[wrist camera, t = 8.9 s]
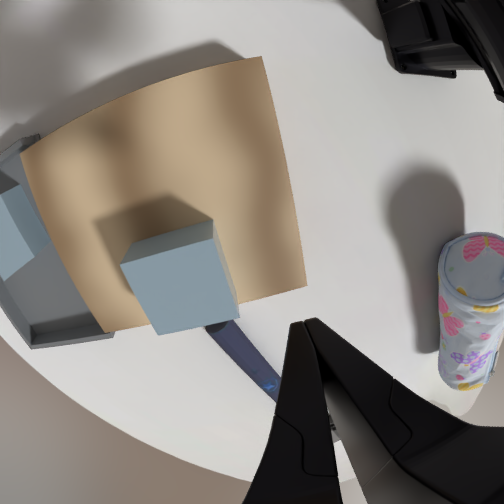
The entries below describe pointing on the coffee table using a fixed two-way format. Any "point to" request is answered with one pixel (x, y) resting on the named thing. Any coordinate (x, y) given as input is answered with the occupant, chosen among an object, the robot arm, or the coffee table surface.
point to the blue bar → (251, 360)
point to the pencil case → (470, 308)
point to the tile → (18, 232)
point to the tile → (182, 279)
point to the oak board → (171, 185)
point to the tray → (42, 280)
